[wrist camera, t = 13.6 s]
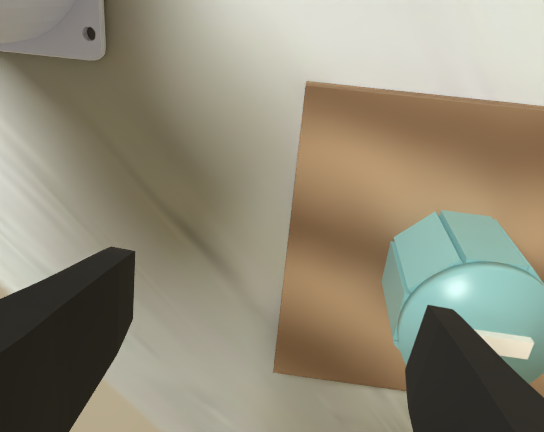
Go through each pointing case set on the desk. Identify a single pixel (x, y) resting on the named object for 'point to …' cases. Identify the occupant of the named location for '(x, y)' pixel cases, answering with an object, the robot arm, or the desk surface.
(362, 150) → the post fixture
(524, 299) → the cap
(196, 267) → the desk surface
